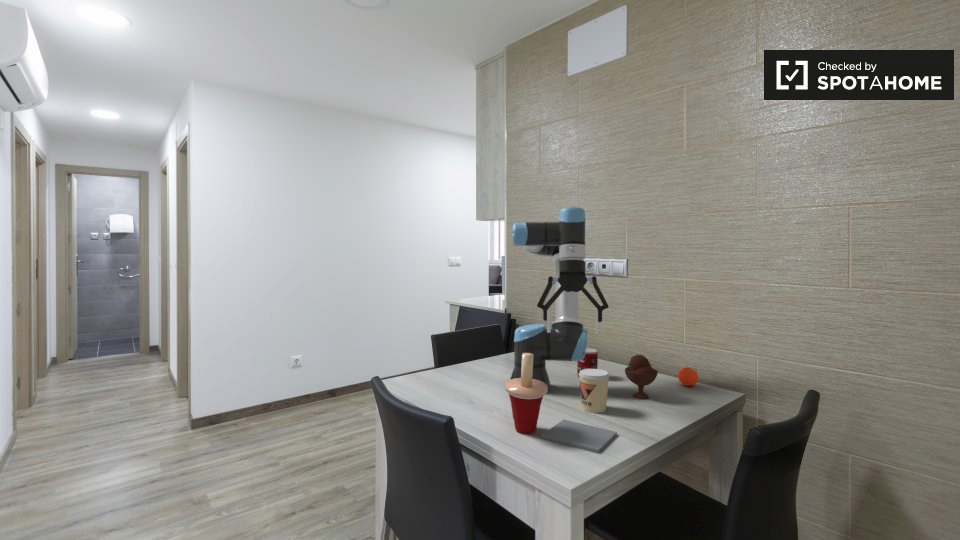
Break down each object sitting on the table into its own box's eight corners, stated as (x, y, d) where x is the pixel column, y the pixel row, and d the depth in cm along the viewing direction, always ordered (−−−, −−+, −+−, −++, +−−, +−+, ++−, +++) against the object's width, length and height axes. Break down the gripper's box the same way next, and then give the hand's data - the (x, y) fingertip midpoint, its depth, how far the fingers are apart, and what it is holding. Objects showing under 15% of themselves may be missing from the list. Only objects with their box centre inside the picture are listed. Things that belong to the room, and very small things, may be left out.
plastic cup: (518, 441, 120) (518, 396, 119) (500, 426, 130) (500, 385, 129) (552, 434, 124) (553, 391, 124) (533, 421, 134) (533, 381, 134)
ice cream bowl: (660, 402, 150) (661, 358, 149) (626, 400, 152) (626, 357, 152) (654, 393, 160) (655, 351, 160) (622, 391, 163) (623, 350, 162)
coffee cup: (573, 406, 147) (573, 370, 146) (596, 402, 151) (596, 367, 150) (590, 415, 138) (591, 377, 138) (614, 411, 142) (615, 374, 141)
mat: (541, 437, 122) (541, 434, 122) (563, 421, 133) (563, 419, 133) (598, 453, 112) (598, 450, 112) (616, 434, 124) (616, 431, 124)
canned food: (576, 374, 186) (576, 347, 185) (596, 374, 185) (596, 348, 184) (577, 379, 178) (578, 351, 178) (598, 380, 177) (598, 352, 177)
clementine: (690, 382, 174) (690, 364, 174) (704, 387, 167) (704, 368, 167) (673, 384, 171) (674, 365, 171) (687, 389, 165) (687, 370, 164)
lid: (496, 389, 125) (498, 355, 124) (518, 378, 135) (520, 345, 134) (534, 401, 118) (536, 364, 117) (554, 387, 128) (556, 354, 127)
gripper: (528, 259, 131) (527, 332, 129) (617, 258, 124) (617, 335, 122) (531, 262, 138) (531, 331, 136) (616, 261, 131) (617, 333, 129)
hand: (572, 333), depth 129 cm, fingers open, 13 cm apart
